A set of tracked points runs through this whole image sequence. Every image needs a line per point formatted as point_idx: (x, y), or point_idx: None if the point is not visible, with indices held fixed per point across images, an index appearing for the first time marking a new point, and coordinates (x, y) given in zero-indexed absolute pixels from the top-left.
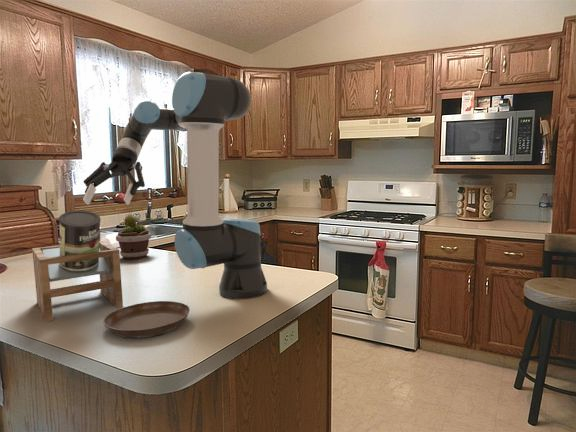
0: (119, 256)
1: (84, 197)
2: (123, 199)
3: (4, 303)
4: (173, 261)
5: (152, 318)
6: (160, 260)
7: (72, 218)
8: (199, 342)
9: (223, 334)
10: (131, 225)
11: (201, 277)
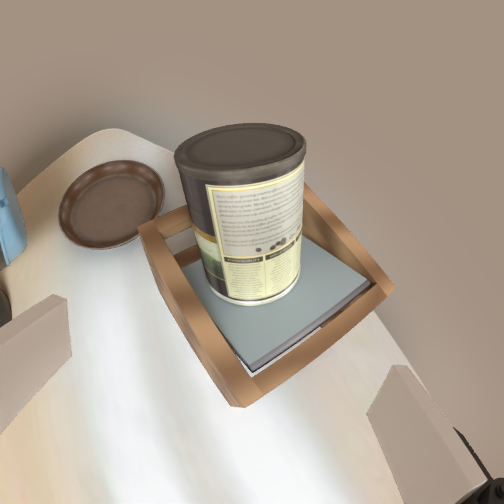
0: (140, 237)
1: (409, 375)
2: (66, 300)
3: (386, 329)
4: None
5: (106, 222)
6: None
7: (262, 139)
8: (70, 167)
9: (47, 180)
10: None
11: (41, 452)
